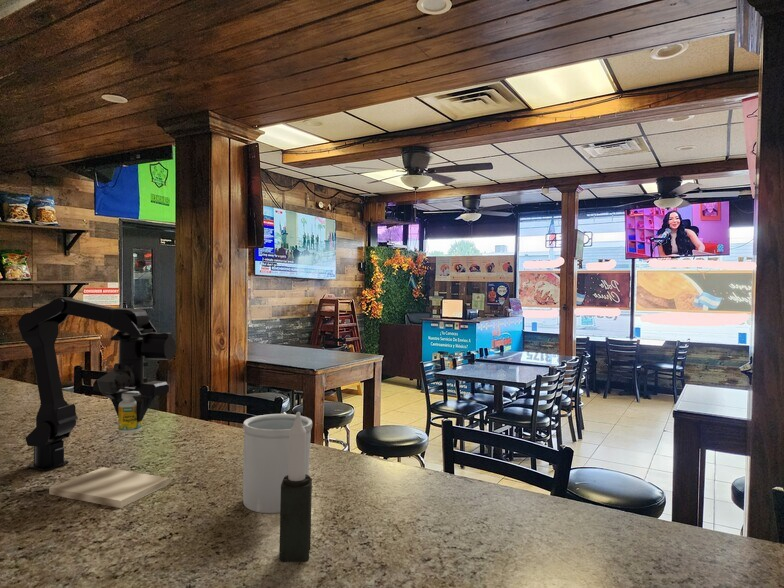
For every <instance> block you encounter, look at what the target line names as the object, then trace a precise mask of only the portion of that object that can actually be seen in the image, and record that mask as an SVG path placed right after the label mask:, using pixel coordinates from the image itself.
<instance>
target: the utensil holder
mask: <svg viewBox="0 0 784 588" xmlns="http://www.w3.org/2000/svg"><path fill="white" fill-rule="evenodd" d="M300 418H301V421H302V425H303V427H304V428H305V430H306V466H305V474H306V475H309V472H310V454H311V453H310V452H311V439H312V438H311V433H312V428H313V420H312V419H311V418H310V417H307V416H303V415H300ZM295 419H296V414H291V413H270V414H263V415H262V414H261V415H256V416H252V417H249V418H246V419H245V420H244V421H243V424H242V429H243V431H244V433H243V434H244V436H243V440H244V441H243V472H242V475H243V478H242V479H243V481H242V489H243V490H242V492H243V493H242V494H243V495H242V498H243V500H242V501H243V502H242V503H243V505H244V507H245V508H246V509H248V510H250V511H253V512H256V513H262V514H280V502H281V484H282V481H283V479H284V477H285V476H287V475H288V471H289V432H290V430H291V428H292V427H293V425H294V422H295ZM309 476H310V475H309Z"/></svg>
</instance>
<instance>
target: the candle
mask: <svg viewBox="0 0 784 588" xmlns="http://www.w3.org/2000/svg"><path fill="white" fill-rule="evenodd" d="M295 415H296V419H295V422H294V425H293V427H292V428H291V430H290V432H289V471H288V475H287V476H285V477H284V479H283V481H282V484H281V502H280V513H279V552H278V553H279V554H278V556H279V557H278V559H279V561H280V562H282V563H304V562H307V561H309V559H310V551H311V542H312V541H311V539H312V537H311V535H312V500H313V498H312V496H313V495H312V493H313V491H312V490H313V489H312V488H313V479H312V477H311V476H310V475H306V474H305V466H306V430H305V428H304V427H303V425H302V421H301V418H300V416H302V415H301V412H300V411H296V413H295ZM309 550H310V551H309Z"/></svg>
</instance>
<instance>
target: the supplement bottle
mask: <svg viewBox="0 0 784 588" xmlns="http://www.w3.org/2000/svg"><path fill="white" fill-rule="evenodd" d="M136 395H139V391H136V390H129V392H123V393H122V397H121V398H122V399H123V401H121V402H120V403H119V414H118V416H117V419H118V423H117V424H118V427H117V429H118V432H119V433H121V434H131V433H137V432H139V431H141V430H142V429H143V420H142V421H140V422H137V403H136V400H135V399H134V398H133V396H136Z"/></svg>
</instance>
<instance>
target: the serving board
mask: <svg viewBox="0 0 784 588" xmlns="http://www.w3.org/2000/svg"><path fill="white" fill-rule="evenodd" d="M169 485H170V477H167V476H166V477H165V476H159V475H152V474H147V473H141V472H135V471H130V470H124V469H123V470H122V469H117V468H111V467H105V466H102V467H100V468H97V469H94V470H93V471H90V472H87V473H84V474H81V475H79V476H76V477H74V478H71V479H69V480H65V481H63V482H61V483H58V484H56V485H53V486H50V487H49V488H48V489H49V494H48V495H52V496H56V497H61V498H65V499H72V500H77V501H82V502H89V503H93V504H97V505H101V506H102V505H104V506H108V507H114V508H117V509H121V508H124V507H125V506H128V505H130V504H132V503H135V502H136V501H138V500H140V499H142V498H144V497H146V496H148V495H150V494H152V493H154V492H156V491H159V490H160V489H163V488H165V487H167V486H169Z"/></svg>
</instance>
